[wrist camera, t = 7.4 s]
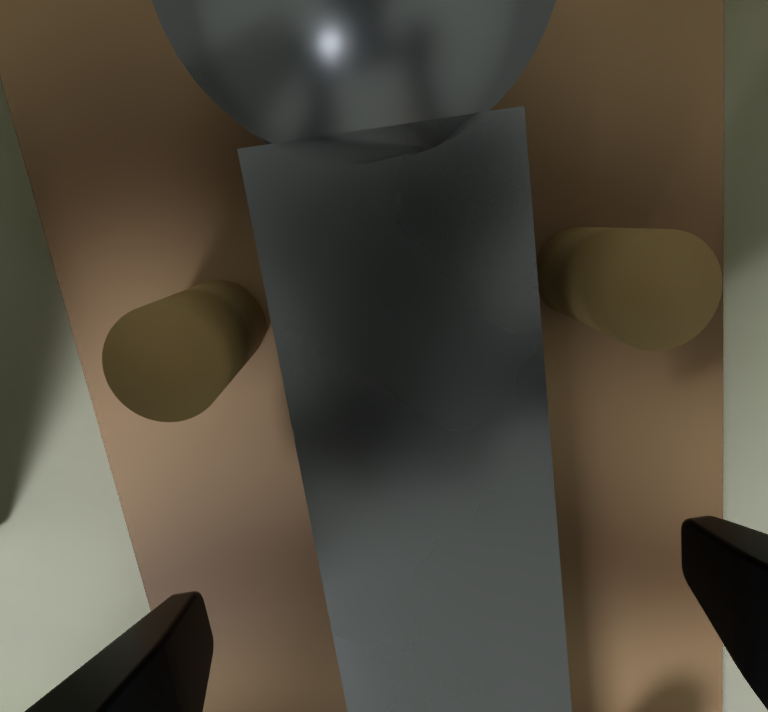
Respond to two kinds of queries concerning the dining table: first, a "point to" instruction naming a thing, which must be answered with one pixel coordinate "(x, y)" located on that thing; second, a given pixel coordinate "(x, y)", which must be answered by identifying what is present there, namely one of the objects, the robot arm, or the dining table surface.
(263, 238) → the grey ball-topped bar
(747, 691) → the dining table surface
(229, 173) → the tool rest
